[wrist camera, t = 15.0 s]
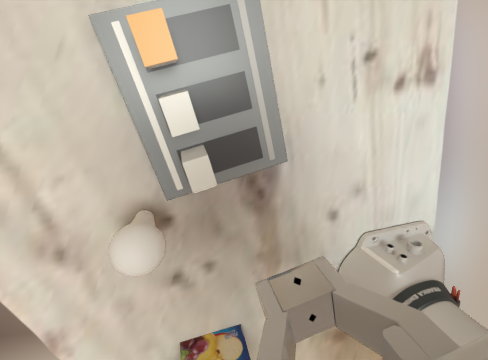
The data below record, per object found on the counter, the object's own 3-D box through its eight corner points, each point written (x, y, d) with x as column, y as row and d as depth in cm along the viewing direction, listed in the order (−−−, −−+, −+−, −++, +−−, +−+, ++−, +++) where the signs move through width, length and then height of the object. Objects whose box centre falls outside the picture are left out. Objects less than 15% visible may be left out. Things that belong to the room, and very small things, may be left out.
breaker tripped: (164, 21, 26) (161, 7, 22) (177, 62, 28) (177, 58, 23) (134, 27, 26) (125, 15, 21) (150, 69, 28) (144, 67, 23)
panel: (251, -15, 29) (272, -41, 23) (282, 157, 38) (303, 172, 32) (94, 19, 27) (69, 0, 20) (167, 194, 36) (165, 219, 30)
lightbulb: (115, 226, 36) (93, 282, 26) (131, 190, 34) (114, 234, 24) (157, 238, 38) (151, 293, 28) (173, 204, 37) (173, 250, 27)
